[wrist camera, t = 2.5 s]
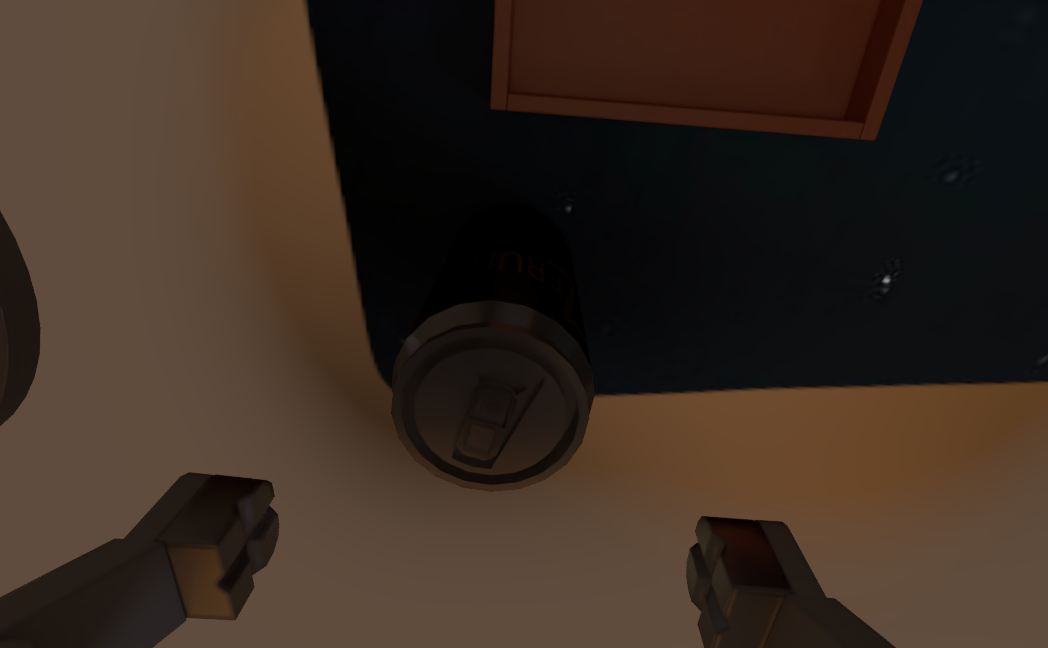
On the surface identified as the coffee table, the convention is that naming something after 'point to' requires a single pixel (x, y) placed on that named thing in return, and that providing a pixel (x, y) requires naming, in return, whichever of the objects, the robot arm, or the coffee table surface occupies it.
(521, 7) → the terracotta tray
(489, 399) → the beer can
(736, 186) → the coffee table surface
